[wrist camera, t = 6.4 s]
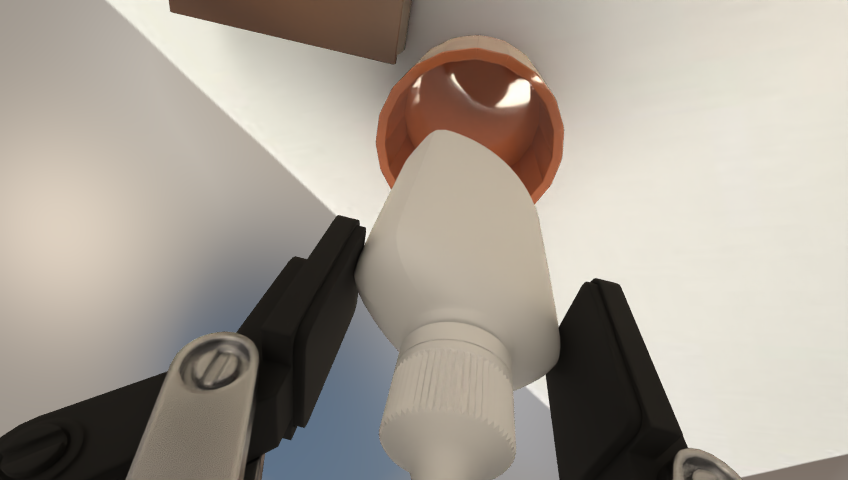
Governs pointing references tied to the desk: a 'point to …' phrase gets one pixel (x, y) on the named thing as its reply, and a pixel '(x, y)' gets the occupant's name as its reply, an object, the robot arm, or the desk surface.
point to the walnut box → (315, 22)
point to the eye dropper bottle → (458, 308)
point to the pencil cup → (475, 109)
